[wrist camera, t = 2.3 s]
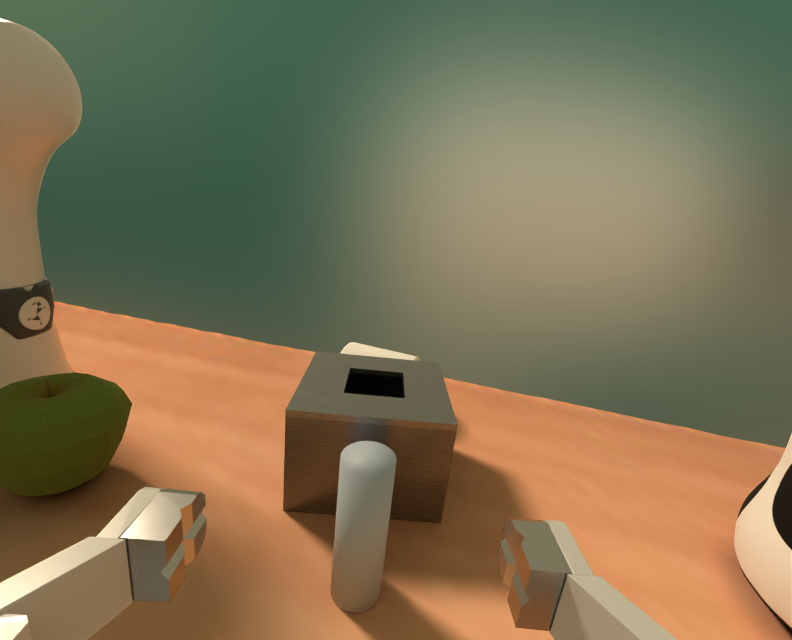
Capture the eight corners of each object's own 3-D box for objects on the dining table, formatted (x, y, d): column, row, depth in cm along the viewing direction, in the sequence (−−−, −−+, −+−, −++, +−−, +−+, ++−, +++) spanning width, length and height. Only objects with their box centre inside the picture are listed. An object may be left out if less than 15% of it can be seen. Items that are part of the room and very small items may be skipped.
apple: (-69, 525, 28) (-104, 407, 26) (47, 442, 38) (31, 351, 36) (84, 531, 29) (65, 418, 26) (158, 448, 39) (151, 360, 36)
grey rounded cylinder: (326, 611, 25) (336, 474, 22) (334, 563, 29) (343, 438, 26) (379, 614, 26) (397, 479, 22) (381, 566, 29) (396, 443, 26)
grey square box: (283, 510, 33) (285, 409, 30) (312, 428, 46) (316, 351, 43) (440, 522, 34) (457, 424, 31) (427, 437, 46) (438, 362, 43)
